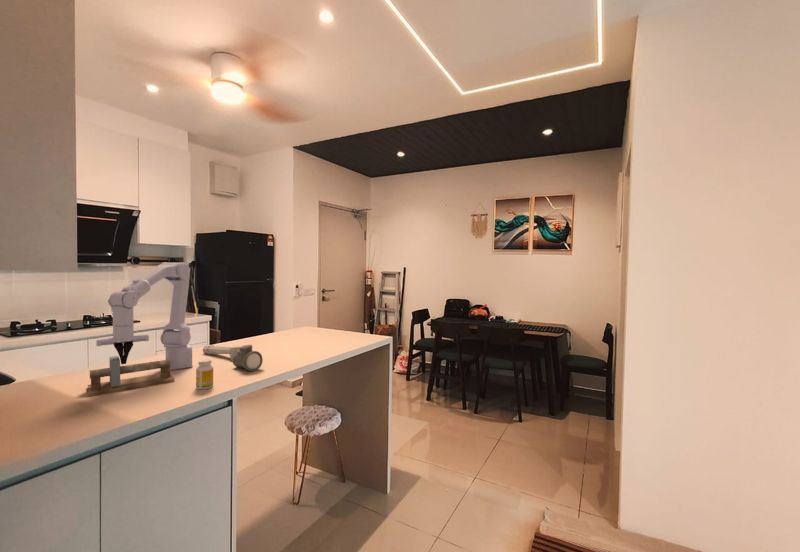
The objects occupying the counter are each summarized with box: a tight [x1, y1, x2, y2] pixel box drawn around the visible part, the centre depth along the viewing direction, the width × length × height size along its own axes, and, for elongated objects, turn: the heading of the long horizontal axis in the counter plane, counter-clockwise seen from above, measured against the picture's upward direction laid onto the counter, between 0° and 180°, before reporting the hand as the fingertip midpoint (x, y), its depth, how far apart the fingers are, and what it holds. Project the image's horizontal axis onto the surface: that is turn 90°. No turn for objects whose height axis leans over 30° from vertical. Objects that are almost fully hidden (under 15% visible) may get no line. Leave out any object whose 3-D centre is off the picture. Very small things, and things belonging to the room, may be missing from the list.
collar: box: [109, 355, 121, 387], centre depth 125 cm, size 2×9×9 cm, turn 42°
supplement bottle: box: [195, 358, 214, 390], centre depth 127 cm, size 5×5×10 cm
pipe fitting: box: [232, 344, 263, 372], centre depth 150 cm, size 12×8×10 cm
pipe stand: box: [87, 359, 175, 397], centre depth 128 cm, size 24×11×7 cm, turn 132°
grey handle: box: [202, 344, 241, 362], centre depth 168 cm, size 5×7×25 cm
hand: (123, 363), depth 126 cm, fingers closed
